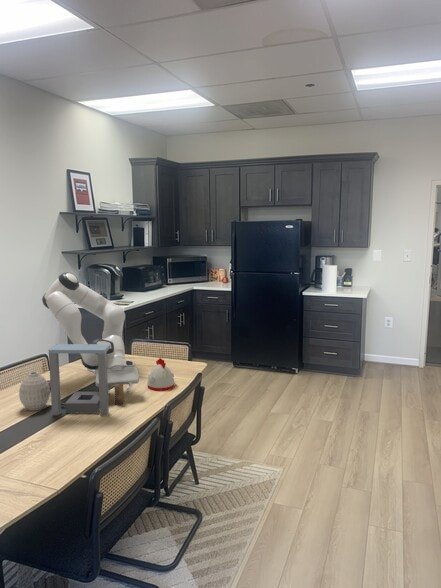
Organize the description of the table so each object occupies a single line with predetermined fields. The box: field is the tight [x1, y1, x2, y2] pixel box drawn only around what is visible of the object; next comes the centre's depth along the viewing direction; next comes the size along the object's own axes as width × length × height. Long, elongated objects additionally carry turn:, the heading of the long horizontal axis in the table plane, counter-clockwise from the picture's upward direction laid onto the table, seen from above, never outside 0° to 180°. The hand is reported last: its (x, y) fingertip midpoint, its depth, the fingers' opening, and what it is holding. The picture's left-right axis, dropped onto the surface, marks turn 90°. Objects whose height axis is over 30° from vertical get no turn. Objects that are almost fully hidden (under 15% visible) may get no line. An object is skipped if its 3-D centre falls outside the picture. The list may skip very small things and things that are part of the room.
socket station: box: [48, 343, 110, 416], centre depth 195 cm, size 16×24×30 cm
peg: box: [113, 384, 125, 406], centre depth 202 cm, size 4×4×9 cm
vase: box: [18, 371, 51, 412], centre depth 196 cm, size 13×13×17 cm
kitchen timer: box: [147, 357, 176, 392], centre depth 224 cm, size 14×14×15 cm
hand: (118, 393), depth 201 cm, fingers open, 8 cm apart
